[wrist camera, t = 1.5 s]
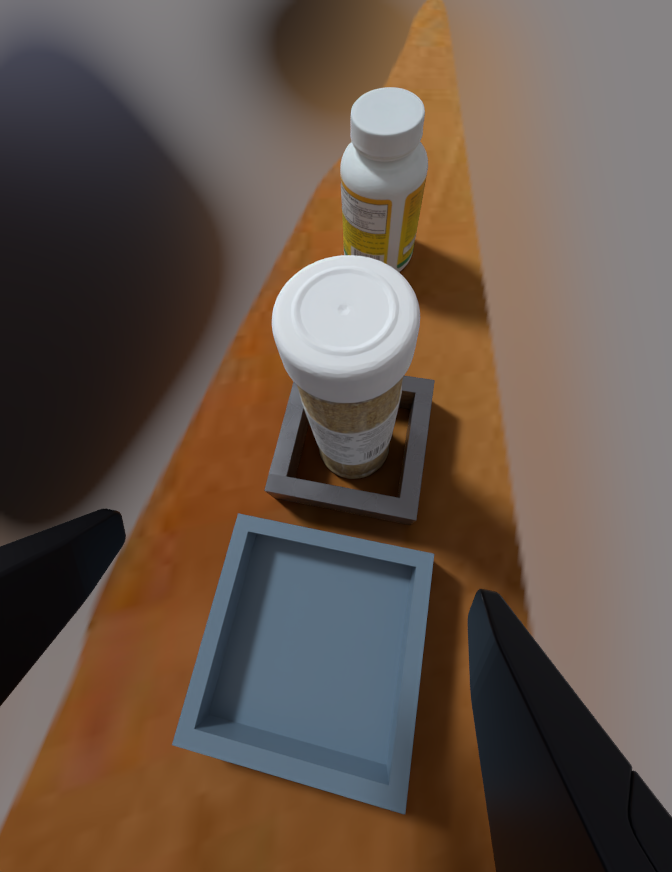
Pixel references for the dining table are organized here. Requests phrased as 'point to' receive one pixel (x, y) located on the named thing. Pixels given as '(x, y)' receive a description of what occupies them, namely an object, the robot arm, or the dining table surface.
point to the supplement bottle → (384, 176)
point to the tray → (313, 661)
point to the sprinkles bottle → (348, 354)
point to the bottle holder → (345, 499)
